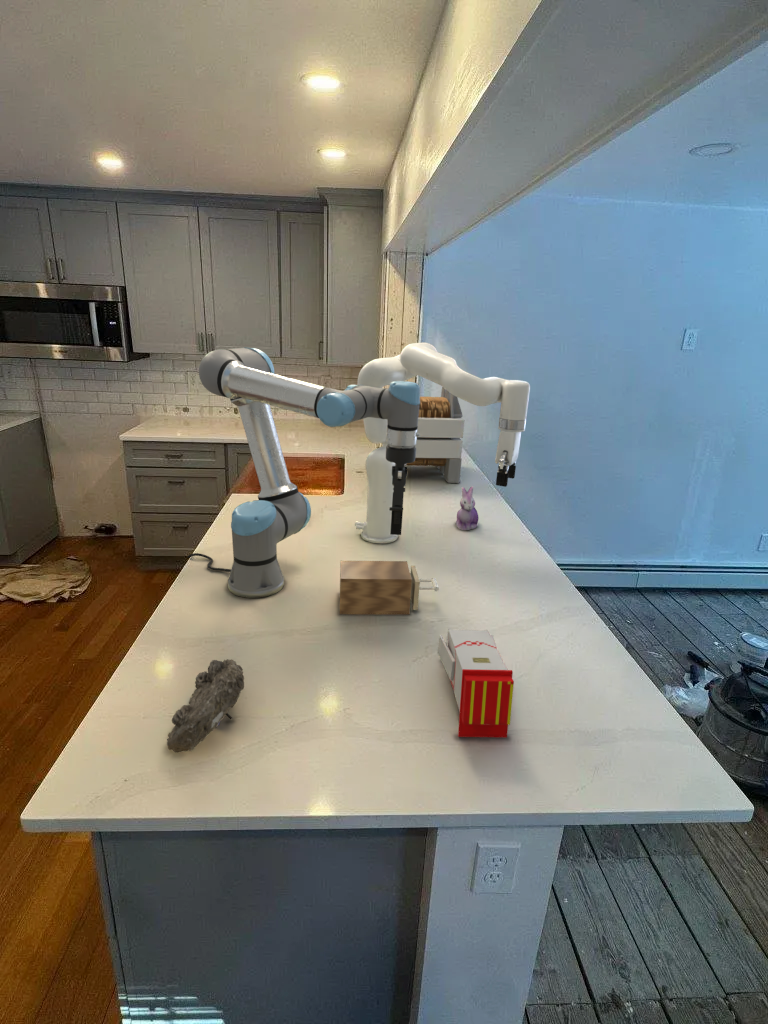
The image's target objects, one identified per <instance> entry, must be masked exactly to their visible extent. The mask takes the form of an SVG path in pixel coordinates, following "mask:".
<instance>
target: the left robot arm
mask: <svg viewBox="0 0 768 1024" xmlns="http://www.w3.org/2000/svg"><path fill="white" fill-rule="evenodd" d="M198 377H199V381H200V383H201V385H203V387H204V388H205V390H206V391H208V392H209V393H211V394H212V395H216V396H220V397H222V398H223V397H224V398H227V399H229V400H230V401H229V402H230V403H231V404H233V405H234V406H236V407H237V408H238V411H239V416H240V419H241V422H242V426H243V429H244V433H245V437H246V440H247V444H248V447H249V451H250V454H251V459H252V461H253V465H254V469H255V473H256V475H257V481H258V484H259V486H260V491H259V493H258V495H257V499H255V500H252V501H246V502H243V503H241V504H239V505H237V506H236V507H234V509H233V511H232V512H231V522H230V528H231V539H232V540H231V541H232V555H233V557H232V558H233V563H232V565H231V568H223V567H213V566H211V565H212V564H213V562H214V560H213V557H210V556H209V555H207V554H203V553H198V552H193V553H190V554H188V555H187V556H186V558H187V559H190V558H191V557H201V558H205V559H207V560H208V561H209V562H208V563H207V564H206V567H207V569H208V570H210V571H215V572H216V571H217V572H227V573H229V575H228V579H227V589H228V590H229V592H230V593H231V594H233V595H235V596H237V597H242V598H246V599H247V598H248V599H257V598H265V597H269V596H273V595H275V594H276V593H279V592H280V591H281V590H282V589H283V588H284V586H285V576H284V574H283V571H282V569H281V567H280V563H279V561H278V555H277V553H278V551H277V549H278V548H277V544H278V543H280V542H282V541H283V540H286V539H287V538H289V537H291V536H293V535H295V534H297V533H299V532H300V531H302V530H303V529H304V528H305V527H306V526H308V524H309V522H310V520H311V515H312V507H311V503H310V502H309V500H308V498H307V497H306V496H304V494H303V493H302V492H300V491H299V489H298V485H296V484H295V483H293V482H292V481H291V478H290V475H289V472H288V467H287V464H286V461H285V457H284V453H283V449H282V446H281V445H282V444H281V442H280V439H279V434H278V430H277V427H276V423H275V420H274V416H273V412H272V408H271V406H272V407H275V408H278V409H283V410H287V411H291V412H294V413H298V414H301V415H305V416H308V417H312V418H316V419H318V420H320V422H322V424H324V425H325V426H327V427H331V428H335V427H345V426H346V425H348V424H351V423H354V422H357V421H361V420H363V419H364V418H367V417H372V418H380V419H387V423H388V425H387V437H386V443H387V444H388V445H387V446H386V460H387V461H389V462H394V463H395V466H392V476H393V478H392V485H393V486H394V488H393V490H394V492H393V500H392V507H390V509H389V511H392V516H391V533H390V534H392V535H398V536H402V529H403V515H404V496H405V495H404V493H406V485H407V477H408V469H409V468H408V466H406V465H405V464H406V463H412V462H414V461H415V457H416V447H415V445H416V440H417V438H416V437H419V436H420V434H419V433H417V429H418V416H419V405H420V397H421V388H420V385H419V384H418V383H417V382H414V381H408V380H406V381H393V382H391V383H390V385H388V386H389V387H388V388H387V387H386V388H384V387H383V388H378V387H371V386H364V385H361V384H360V385H358V384H349V385H347V386H346V388H345V389H344V390H340V389H335V388H331V387H327V386H323V385H320V384H315V383H311V382H308V381H303V380H299V379H295V378H291V377H288V376H284V375H279V374H276V373H275V368H274V364H273V362H272V360H271V358H270V357H269V355H267V353H266V352H264V351H262V350H261V349H258V348H256V347H248V346H244V347H236V348H222V349H215V350H212V351H209V352H208V353H206V354H205V355H204V356H203V358H202V359H201V360H200V362H199V366H198Z"/></svg>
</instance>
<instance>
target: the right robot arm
mask: <svg viewBox="0 0 768 1024" xmlns="http://www.w3.org/2000/svg"><path fill="white" fill-rule="evenodd" d="M417 376H419V377H421V378H422V379H425V380H428V381H430V382H432V383H435V384H436V385H439V386H440V387H441V388H442V387H443V388H444V389H446V390H447V391H448V392H450V393H451V394H453V395H454V396H456V397H457V398H458V399H460V400H463V401H464V402H467V403H469V404H472V405H474V406H477V407H486V406H490V405H493V404H497V403H498V404H499V403H500V410H499V419H498V426H497V429H498V430H499V436H498V440H497V446H496V451H495V452H496V453H495V459H494V463H495V464H498V466H497V470H496V471H497V472H496V479H495V485H496V486H497V487H498V486H499V487H504V488H506V487H507V486H508V483H509V479H515V477H516V471H517V461H518V458H519V454H520V446H521V436H522V433H523V432H525V431H526V423H527V418H528V417H527V415H528V409H529V408H528V407H529V399H530V393H531V385H530V383H529V382H528V381H525V380H520V379H506V378H502V377H497V376H489V377H485V378H481V377H479V376H477V375H474V374H471V373H470V372H467V371H465V370H464V369H462V368H460V367H459V366H458V364H457V361H456V359H455V358H453V357H451V356H449V355H446V354H444V353H442V352H439V351H438V350H437V348H436V347H435V346H434V345H433V344H431V343H429V342H412V343H409V344H407V345H406V346H404V347H403V349H402V350H401V352H400V354H397V355H395V356H390V357H379V358H375V359H372V360H371V361H368V362H367V363H365V364H364V365H363V366H362V368H361V369H360V371H359V373H358V376H357V385H360V384H361V385H364V386H371V387H378V388H384V387H387V386H390V383H391V382H393V381H408V380H410V379H413V378H415V377H417ZM362 420H363V428H364V433H365V436H366V439H367V440H368V441H369V442H370V443H372V444H375V445H377V444H378V445H379V444H381V445H382V446H379V447H377V448H374V449H373V450H371V451H370V452H369V453H368V454H367V456H366V459H365V471H366V480H367V481H366V482H367V483H366V519H365V520H366V521H364V522H362V521H355V522H354V527H355V529H356V530H361V534H360V535H361V538H362V539H363V540H364V541H366V542H368V543H373V544H389V543H393V542H395V541H397V540H398V537H399V535H392V534H390V533H391V516H392V511H389V509H390V507H392V500H393V492H394V490H393V488H394V486H393V485H392V478H393V476H392V466H395V463H394V462H389V461H387V460H386V446H387V445H388V444H387V443H386V437H387V425H388V423H387V419H380V418H372V417H367V418H364V419H362ZM406 464H407V463H406ZM406 464H405V466H407V465H406Z"/></svg>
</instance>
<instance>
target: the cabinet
mask: <svg viewBox="0 0 768 1024" xmlns="http://www.w3.org/2000/svg"><path fill="white" fill-rule="evenodd" d="M339 563H340V564H339V565H340V567H339V568H340V569H339V615H410V614H411V613H410V611H411V583H412V578H411V575H410V571H411V570H410V567H409V563H408V560H340V562H339Z"/></svg>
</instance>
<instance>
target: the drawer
mask: <svg viewBox="0 0 768 1024" xmlns="http://www.w3.org/2000/svg"><path fill="white" fill-rule="evenodd" d="M416 567H417V566H416V565H410V570H409V571H410V575H411V578H412V583H411V598H410V604H411V607H412V610H413V611H418V609H419V601H420V600H419V597H420V591H423V590H425V591H426V590H427V591H430V590H431V591H432V590H433V591H434V592H438V591H439V590H440V588H439V584H438V582H437V579H436V577H432V578H420V577H419V574H418V570H417V568H416ZM420 583H431V585H432V586H420V585H421V584H420Z"/></svg>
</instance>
